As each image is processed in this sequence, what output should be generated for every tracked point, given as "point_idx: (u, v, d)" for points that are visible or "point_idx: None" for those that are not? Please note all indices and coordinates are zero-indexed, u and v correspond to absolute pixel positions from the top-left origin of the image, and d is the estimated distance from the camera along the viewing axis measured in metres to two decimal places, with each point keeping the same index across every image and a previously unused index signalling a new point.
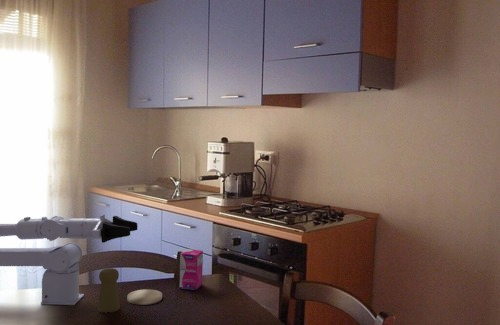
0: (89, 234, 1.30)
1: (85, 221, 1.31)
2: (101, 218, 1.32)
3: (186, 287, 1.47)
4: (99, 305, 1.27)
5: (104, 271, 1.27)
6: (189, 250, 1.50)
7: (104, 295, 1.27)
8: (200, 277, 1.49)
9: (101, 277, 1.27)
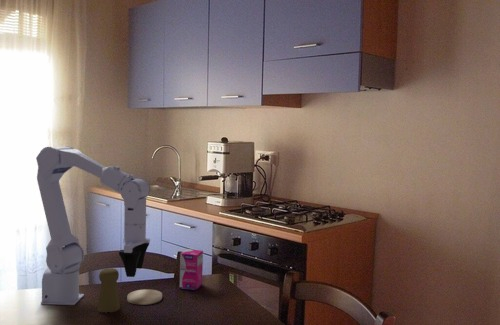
0: (128, 231, 1.25)
1: (142, 226, 1.26)
2: (145, 241, 1.27)
3: (186, 287, 1.47)
4: (99, 305, 1.27)
5: (104, 271, 1.27)
6: (189, 250, 1.50)
7: (104, 295, 1.27)
8: (200, 277, 1.49)
9: (101, 277, 1.27)
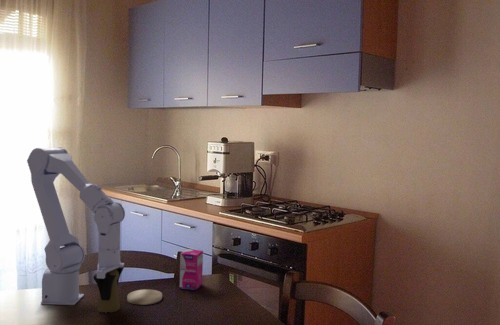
0: (102, 256, 1.26)
1: (115, 251, 1.27)
2: (119, 266, 1.27)
3: (186, 287, 1.47)
4: (99, 305, 1.27)
5: None
6: (189, 250, 1.50)
7: None
8: (200, 277, 1.49)
9: None
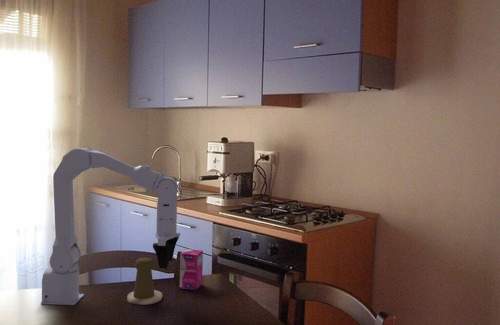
0: (160, 226, 1.34)
1: (173, 221, 1.34)
2: (176, 235, 1.35)
3: (186, 287, 1.47)
4: (136, 292, 1.35)
5: (140, 260, 1.35)
6: (189, 250, 1.50)
7: (141, 283, 1.35)
8: (200, 277, 1.49)
9: (138, 266, 1.34)
